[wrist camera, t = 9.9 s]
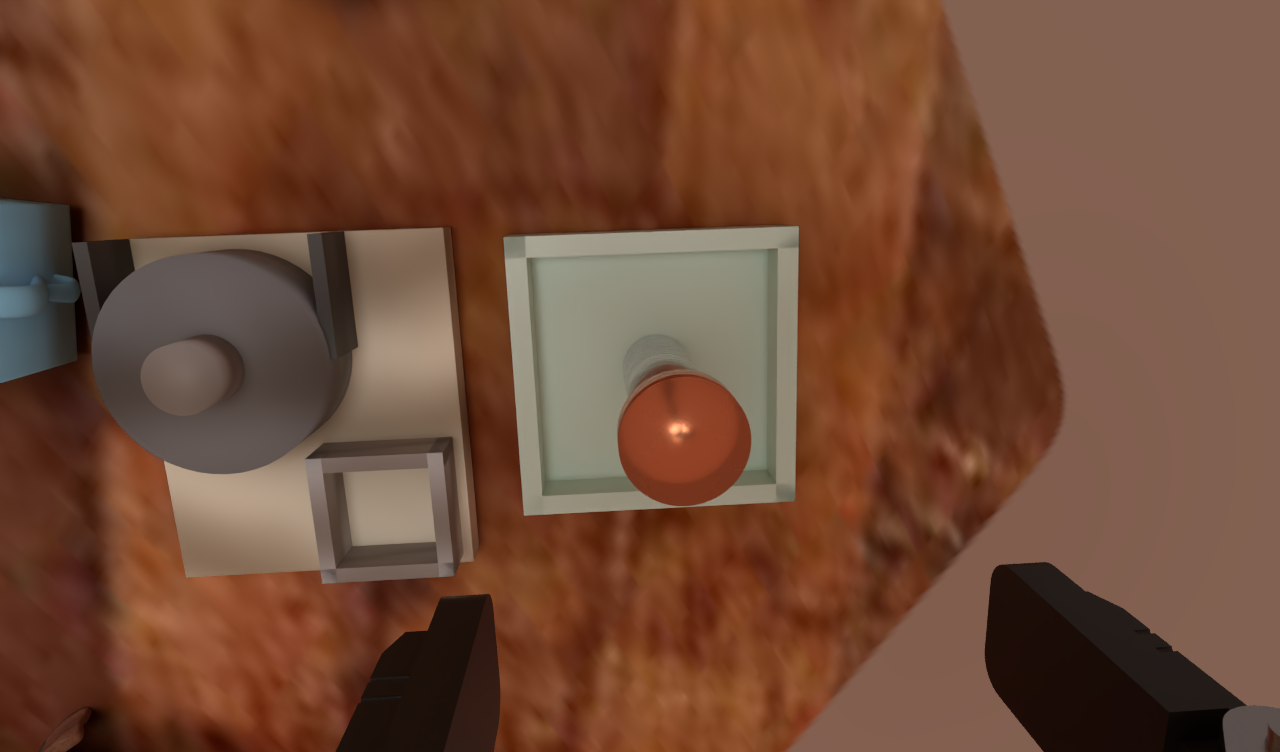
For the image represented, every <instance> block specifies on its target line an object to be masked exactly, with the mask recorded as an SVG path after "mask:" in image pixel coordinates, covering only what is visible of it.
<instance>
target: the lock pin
mask: <svg viewBox="0 0 1280 752" xmlns="http://www.w3.org/2000/svg"><path fill="white" fill-rule="evenodd" d="M623 374H624V380H625V386H626V392H627V400H626V401H625V403H624V405H623V407H622V409H621V412H620V415H619V418H618V424H617V440H618V451H619V457H620V461H621V464H622V467H623V469H624V472H625V473H626V475H627V477H628V479H629V480H630V481H631V482H632V484H633V485H634V486H635V487H636V488H637V489H638V490H639V491H640V492H642V493H643V494H644V495H646V496H647V497H649V498H651V499H653V500H655V501H658V502H660V503H663V504H667V505H672V506H693V505H698V504H702V503H705V502H708V501H711V500H713V499H715V498H717V497H718V496H720V495H721V494H723V493H724V492H726V491H727V490H728V489H729V488H730V487H731V486H733V484H734V483H735V482H736V481H737V480H738V479H739V477H740V476H741V474H742V473H743V471H744V469H745V467H746V465H747V462H748V459H749V455H750V451H751V430H750V425H749V422H748V419H747V416H746V414H745V412H744V411H743V409H742V407H741V406H740V404H739V403H738V402H737V400H736V399H735V397H734V396H733V395H732V393H731V392H730V391H729V390H728V389H727V388H726V386H725V385H723V384H722V383H721V382H720V381H718V380H717V379H715V378H713V377H712V376H710V375H707V374H705V373H702V372H699V371H698V370H697V368H696V366H695V365H694V363H693V362H692V360H691V358H690V357H689V355H688V354H687V352H686V350H685V349H684V347H683V346H682V345H681V344H680V343H679V342H678V341H677V340H675V339H673V338H672V337H669V336H666V335H661V334H653V335H648V336H645V337H642V338H640V339H639V340H637V341H636V342H635V343H633V344H632V345H631V347H630V348H629V349H628V351H627V353H626V355H625V358H624V362H623Z"/></svg>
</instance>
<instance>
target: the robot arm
mask: <svg viewBox="0 0 1280 752" xmlns="http://www.w3.org/2000/svg"><path fill="white" fill-rule="evenodd" d="M985 662H986V668H987V672H988V675H989V678H990V681H991V683H992V685H993V688H994V689H995V691H996V693H997V694H998V695H999V697H1000V698H1001V699H1002V700H1003V702H1004V703H1005V704H1006V705H1007V707H1008V708H1009V709H1010V710H1011V712H1012V713H1013V714H1014V715H1015V717H1016V718H1017V719H1018V720H1019V722H1020V723H1021V724H1022V725H1023V727H1024V728H1025V729H1026V730H1027V732H1028V733H1029V734H1030V735H1031V737H1032V738H1033V739H1034V740H1035V741H1036V743H1037V744H1038V745H1039V746H1040V748H1041V749H1042V750H1043V751H1044V752H1280V709H1279V708H1274V707H1267V706H1255V705H1253V706H1247V705H1245V704H1244V703H1243V702H1242V701H1240V700H1239V699H1238V698H1237V697H1235V696H1234V695H1233V694H1232V693H1230V692H1229V691H1228V690H1226V689H1225V688H1224V687H1223V686H1221V685H1220V684H1219V683H1217V682H1216V681H1215V680H1214V679H1212V678H1211V677H1210V676H1208V675H1207V674H1206V673H1204V672H1203V671H1202V670H1201V669H1200V668H1198V667H1197V666H1196V665H1195V664H1193V663H1192V662H1191V661H1189V660H1188V659H1187V658H1186V657H1184V656H1183V655H1182V654H1181V653H1179V652H1178V651H1173V650H1172V646H1170V645H1169V644H1168V643H1167V642H1165V641H1164V640H1163V639H1161V638H1160V637H1159V636H1158V635H1156V634H1155V633H1154V634H1151V633H1150V629H1149V628H1147V627H1146V626H1145V625H1144V624H1142V623H1141V622H1140V621H1139V620H1137V619H1136V618H1135V617H1133V616H1132V615H1131V614H1130V613H1128V612H1127V611H1126V610H1124V609H1123V608H1121V607H1119V606H1117V605H1115V604H1113V603H1110V602H1109V601H1106V600H1104V599H1102V598H1100V597H1098V596H1096V595H1094V594H1092V593H1090V592H1085V591H1084V590H1083V589H1082V588H1081V587H1079V586H1078V585H1077V584H1075V583H1074V582H1073V581H1072V580H1071V579H1069V578H1068V577H1067V576H1066V575H1065V574H1063V573H1062V572H1061V571H1060V570H1058V569H1057V568H1056V567H1055V566H1053V565H1052V564H1050V563H1047V562H1042V563H1041V562H1040V563H1023V564H1008V565H999V566H997V567H996V568H995V569H994V571H993V573H992V577H991V585H990V596H989V608H988V620H987V631H986V642H985ZM499 715H500V678H499V667H498V656H497V645H496V634H495V623H494V612H493V604H492V599H491V596H490V595H489V594H483V595H466V596H449V597H442V598H441V599H440V601H439V603H438V606H437V608H436V611H435V613H434V616H433V618H432V621H431V623H430V626H429V629H428V631H416V632H405V633H404V634H403V635H402V636H401V637H400V638H399V639H397V640H396V641H395V642H394V643H393V644H392V645H391V646H390V647H389V648H388V649H386V650H385V651H384V652H383V653H382V655H381V657H380V659H379V661H378V663H377V665H376V667H375V669H374V672H373V674H372V676H371V681H370V683H368V684H367V686H366V689H365V691H364V693H363V695H362V697H361V703H358V706H357V708H356V710H355V712H354V714H353V716H352V718H351V720H350V723H349V725H348V727H347V729H346V731H345V733H344V735H343V737H342V740H341V742H340V744H339V746H338V748H337V750H336V752H494V746H495V741H496V736H497V730H498V725H499Z"/></svg>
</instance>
